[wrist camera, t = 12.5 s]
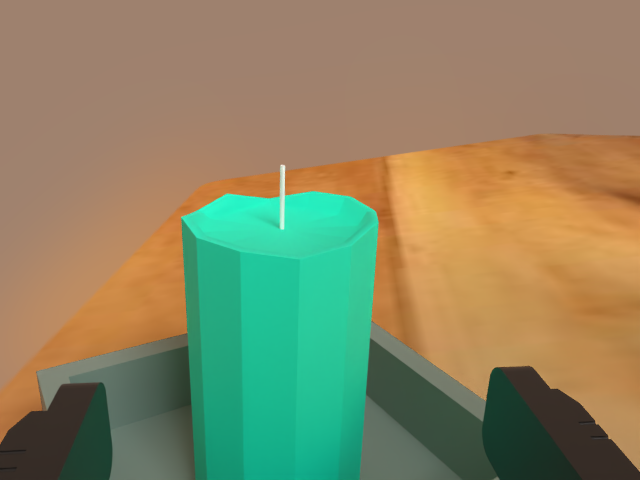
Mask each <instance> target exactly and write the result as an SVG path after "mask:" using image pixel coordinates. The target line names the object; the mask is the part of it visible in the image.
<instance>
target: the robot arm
mask: <svg viewBox="0 0 640 480" xmlns="http://www.w3.org/2000/svg"><path fill="white" fill-rule="evenodd" d="M482 440H483V446H484V450H485V453H486V456H487V458H488V460H489V462H490V463H491V465H492V467H493V469H494V471H495V472H496V474H497V476H498V478H499V480H640V472H639V470H638V469H637V468H636V467H635V466H634V465H633V464H632V462H631V461H630V460H629V459H628V458H627V457H626V456H625V454H624V453H623V452H622V451H621V450H620V449H619V448H618V446H617V445H616V444H615V443H614V442H613V441H612V440H611V439H608V435H607V434H606V433H605V432H604V430H603V429H602V428H601V427H600V426H599V425H596V424H595V420H594V419H593V418H592V417H591V416H590V414H589V413H588V412H587V411H586V410H585V409H584V408H583V406H582V405H581V404H580V403H578V402H577V401H575V400H574V399H572V398H571V397H569V396H568V395H566V394H565V393H563V392H562V391H560V390H558V389H550V388H549V386H548V385H547V384H546V383H545V382H544V380H543V379H542V378H541V377H540V376H539V374H538V373H537V372H536V371H535V370H534V369H533V368H532V367H530V366H521V367H497V368H494V369H493V370H492V372H491V375H490V381H489V387H488V393H487V400H486V406H485V412H484V418H483V425H482ZM112 457H113V449H112V438H111V430H110V421H109V413H108V405H107V396H106V389H105V386H104V384H103V383H102V382H94V383H69V384H62V385H61V386H60V387H59V389H58V391H57V393H56V394H55V396H54V398H53V400H52V402H51V404H50V406H49V408H48V410H47V411H31V412H30V413H29V414H27V415H26V416H25V417H24V418H23V419H21V420H20V421H19V422H18V423H17V424H15V425H14V426H13V427H12V428H11V429H9V431H8V432H7V434H6V436H5V437H4V439H3V441H2V442H1V444H0V480H109V479H110V474H111V468H112Z"/></svg>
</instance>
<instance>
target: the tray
mask: <svg viewBox="0 0 640 480" xmlns="http://www.w3.org/2000/svg"><path fill="white" fill-rule="evenodd" d="M36 373H37V379H38V385H39V391H40V397H41V403H42V409H43V411H47V410H48V408H49V406H50V404H51V402H52V400H53V398H54V396H55V394H56V393H57V391H58V389H59V387H60V386H61V385H62V384H69V383H94V382H102V383H103V384H104V386H105V389H106V396H107V405H108V413H109V421H110V430H111V438H112V449H113V457H112V468H111V474H110V479H109V480H195V461H194V443H193V424H192V406H191V387H190V369H189V350H188V333H187V334H183V335H179V336H175V337H171V338H167V339H163V340H159V341H155V342H151V343H147V344H143V345H139V346H135V347H131V348H127V349H123V350H119V351H115V352H111V353H107V354H103V355H99V356H95V357H91V358H87V359H83V360H79V361H75V362H71V363H67V364H63V365H59V366H56V367H52V368H48V369H44V370H40V371H36ZM485 406H486V401H485V400H483V399H482V398H480V397H479V396H477V395H476V394H475V393H473V392H472V391H470V390H469V389H467V388H466V387H465V386H463V385H462V384H460V383H459V382H458V381H456V380H455V379H453V378H452V377H450V376H449V375H448V374H446V373H445V372H443V371H442V370H440V369H439V368H438V367H436V366H435V365H433V364H432V363H431V362H429V361H428V360H426V359H425V358H423V357H422V356H421V355H419V354H418V353H416V352H415V351H414V350H412V349H411V348H409V347H408V346H406V345H405V344H404V343H402V342H401V341H399V340H398V339H396V338H395V337H394V336H392V335H391V334H389V333H388V332H387V331H385V330H384V329H382V328H381V327H379V326H378V325H377V324H375V323H374V322H372V321H371V331H370V344H369V358H368V371H367V385H366V399H365V412H364V426H363V439H362V453H361V466H360V480H499V478H498V476H497V474H496V472H495V471H494V469H493V467H492V465H491V463H490V462H489V460H488V458H487V456H486V453H485V450H484V446H483V440H482V425H483V418H484V412H485Z"/></svg>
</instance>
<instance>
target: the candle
mask: <svg viewBox="0 0 640 480" xmlns="http://www.w3.org/2000/svg"><path fill="white" fill-rule="evenodd" d="M181 221H182V239H183V258H184V276H185V295H186V313H187V332H188V350H189V369H190V387H191V406H192V424H193V443H194V461H195V480H360V466H361V453H362V439H363V426H364V412H365V399H366V385H367V371H368V358H369V344H370V331H371V317H372V304H373V290H374V277H375V263H376V249H377V236H378V218H377V214H376V211H374V210H373V209H371V208H369V207H368V206H366V205H364V204H362V203H361V202H359V201H357V200H356V199H354V198H352V197H350V196H343V195H336V194H329V193H322V192H315V191H311V192H305V193H299V194H293V195H287V196H285V165H280V197H275V198H260V197H251V196H243V195H234V194H226V195H224V196H222V197H220V198H219V199H217V200H215V201H213V202H211V203H210V204H208V205H206V206H204V207H203V208H201V209H199V210H197V211H195V212H193V213H191V214H188V215H186V216H183V217H181Z"/></svg>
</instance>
